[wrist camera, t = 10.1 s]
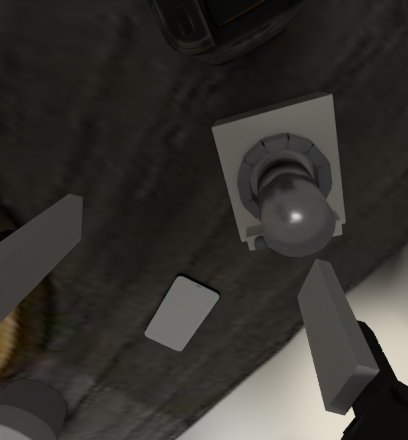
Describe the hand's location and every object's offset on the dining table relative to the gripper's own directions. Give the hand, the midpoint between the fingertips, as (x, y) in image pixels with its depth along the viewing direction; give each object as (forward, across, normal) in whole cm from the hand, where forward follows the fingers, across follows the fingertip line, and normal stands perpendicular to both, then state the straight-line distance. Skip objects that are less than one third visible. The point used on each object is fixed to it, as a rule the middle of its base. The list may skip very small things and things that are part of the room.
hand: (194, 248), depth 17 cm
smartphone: (+24, 0, -29) cm, 38 cm away
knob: (+18, +7, 0) cm, 19 cm away
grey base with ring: (+24, +7, 0) cm, 25 cm away
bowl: (+24, -26, -65) cm, 74 cm away
